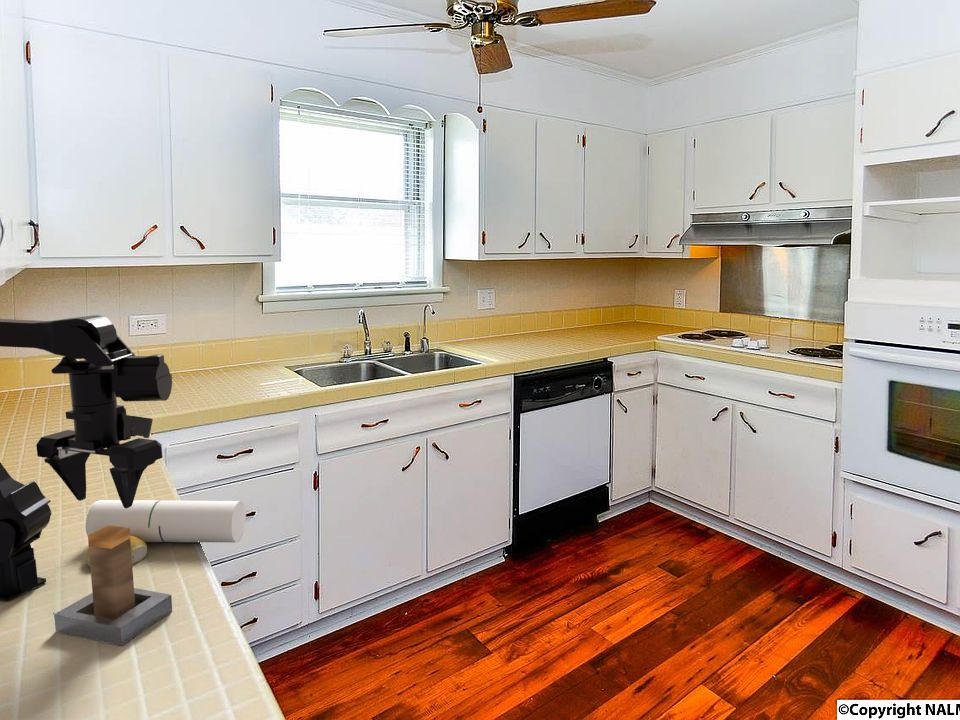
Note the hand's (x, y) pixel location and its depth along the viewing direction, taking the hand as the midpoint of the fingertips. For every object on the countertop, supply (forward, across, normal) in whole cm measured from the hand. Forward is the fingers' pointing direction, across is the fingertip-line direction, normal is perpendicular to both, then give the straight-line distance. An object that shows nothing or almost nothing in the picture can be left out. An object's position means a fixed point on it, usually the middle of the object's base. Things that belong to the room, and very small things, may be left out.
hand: (104, 503), depth 100 cm
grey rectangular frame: (+13, -9, +8) cm, 18 cm away
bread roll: (+14, +7, -7) cm, 17 cm away
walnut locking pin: (+13, -9, +8) cm, 18 cm away
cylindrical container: (+10, +16, -12) cm, 22 cm away
